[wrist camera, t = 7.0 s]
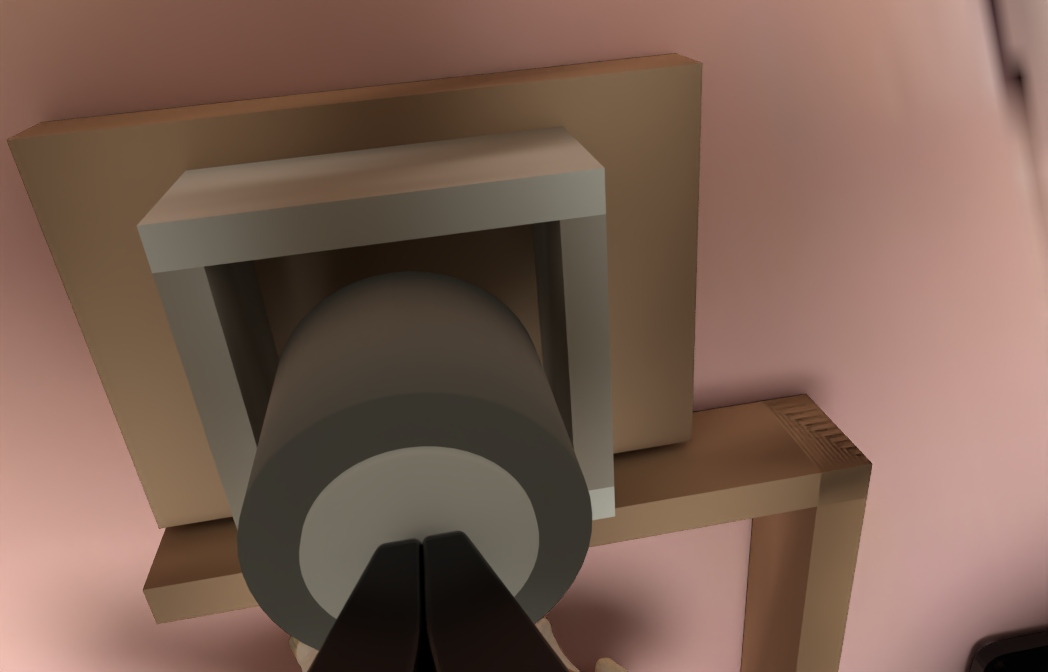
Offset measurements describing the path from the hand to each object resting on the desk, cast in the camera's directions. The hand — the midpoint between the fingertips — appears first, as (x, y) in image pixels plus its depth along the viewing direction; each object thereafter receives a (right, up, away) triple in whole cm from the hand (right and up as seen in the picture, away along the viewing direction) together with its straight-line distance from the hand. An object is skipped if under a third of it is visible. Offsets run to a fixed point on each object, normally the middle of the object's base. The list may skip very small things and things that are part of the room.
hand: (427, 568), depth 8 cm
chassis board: (+1, -1, +9) cm, 9 cm away
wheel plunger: (-1, +2, +3) cm, 3 cm away
